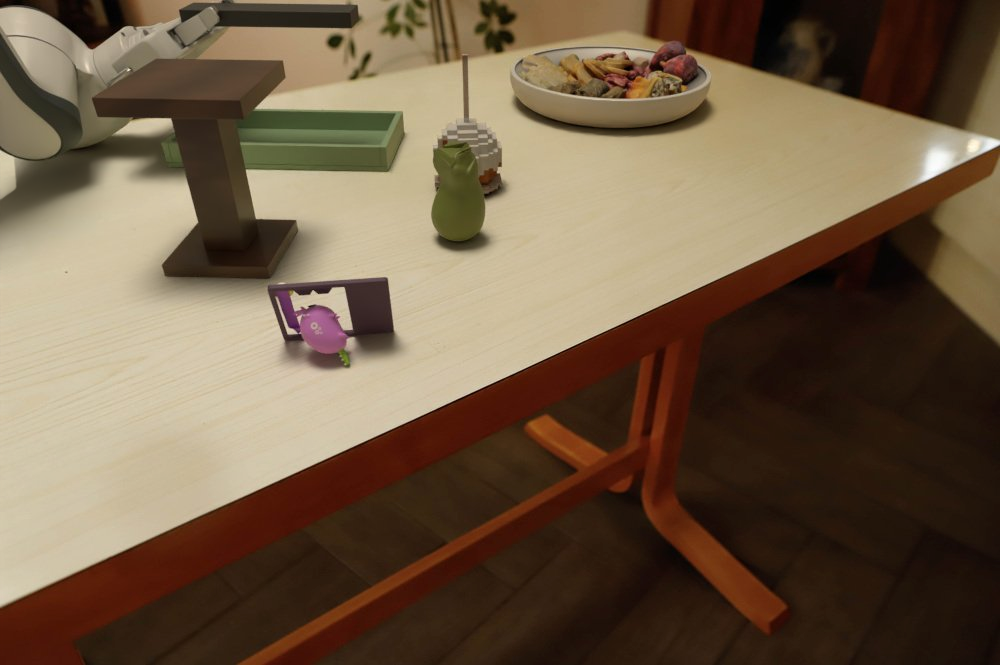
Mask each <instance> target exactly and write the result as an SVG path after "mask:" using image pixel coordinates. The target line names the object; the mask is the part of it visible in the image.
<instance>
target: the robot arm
mask: <svg viewBox="0 0 1000 665" xmlns="http://www.w3.org/2000/svg"><path fill="white" fill-rule="evenodd" d="M208 3H217V1H215V0H213V1H208ZM218 3H237V1H236V0H221V1H220V2H218ZM221 20H222V15H221V14H220V13H219V12H218V9H217V8H216V7H215V6H210V7H208V8H206V9H205V10H203V11H202V12H200V13H199V14H198V15H196V16H194V17H192V18H190V19H189V20H187V21H185V22H183V23H182V22H181V18H180V16H179V17H177V18H175V19H172V20H170V21H168V22H165V23H163V22H161V21H160V22H158V23H154V24H151V25H146V26H131V25H127V26H123V27H122V28H121V29H120V30H118V31H117V32H115V33H114V34H113V35H111V36H110V37H109V38H107V39H106V40H104V41H103V42H102V43H100V44H99V45H97V46H96V47H94V48H93V49H91V48H90V47H89V46H88V45H87V43H86V42H85V41H84V40H83V39H82V38H81V37H79V36H78V35H77V34H76V33H75V32H74V31H72V30H71V29H70V28H69V27H68V26H66V25H65V24H63V23H62V22H61V21H60V20H58V19H57V18H55V17H54V16H53V15H51V14H49V13H47V12H45V11H43V10H41V9H39V8H36V7H32V6H28V5H21V4H20V5H17V4H14V5H13V4H12V5H4V6H1V7H0V152H3V153H4V154H7V155H9V156H10V157H13V158H16V159H19V160H23V161H29V162H44V161H49V160H53V159H55V158H58V157H60V156H62V155H64V154H65V153H67V152H69V151H71V150H77V149H83V148H87V147H91V146H93V145H95V144H98V143H100V142H102V141H103V140H105V139H107V138H109V137H111V136H113V135H114V134H116V133H117V132H119V131H120V130H122V129H123V128H125V127H127V126H128V125H129V124H130V123H131V121H132V120H133V118H112V117H97V114H96V111H95V107H94V104H93V101H92V97H94V96H95V95H97V94H98V93H100V92H102V91H103V90H105V89H107V88H108V87H110V86H112V85H113V84H115V83H117V82H118V81H120V80H122V79H123V78H125V77H127V76H128V75H130V74H132V73H133V72H135V71H136V70H138V69H140V68H141V67H143V66H145V65H146V64H148V63H150V62H151V61H153V60H155V59H199V57H200V56H201V55H202V54H203V53H204V52H206V51H207V50H208V49H209V48H210V47H211V46H212V45H214V44H215V43H216V42H217V41H218V40H219V39H220V38H221V37H222V36H223V35H225V33H227V32H228V30H229V29H230V28H231V27H214V25H215V24H217V23H218V22H220V21H221Z"/></svg>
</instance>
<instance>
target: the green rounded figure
mask: <svg viewBox="0 0 1000 665" xmlns="http://www.w3.org/2000/svg"><path fill="white" fill-rule="evenodd" d="M471 151H472V150H471V147H470V146H469V144H468V143H467V142H465V143H459V142H455V141H452V142H449V143H448V144H446V145H444V146H443V147H441V148H438V149H436V150H434V156H432V164H433V168H434V170H435V171H436V173H437V175H439V177H440V185H439V187H437V188H438V189H437V191H436V193H435V196H434V197H433V198H434V199H433V201H432V205H431V211H430V212H431V213H430V216H431V222H432V225H433V227H434V229H435V231H436V232H437V234H438V235H440V236H441V237H442V238H444V239H445V240H447V241H452V242H465V241H469V240H470V239H473V237H475V236H476V235H477V234H478V233H479V232H480V231H481V229H482V228H483V226H484V223H485V217H486V200H485V194H484V193H483V189H482V186H481V184H480V182H479V178H478V173H479V167H478V162H477V160H476V157H475V155H474V154H473V153H472V152H471Z"/></svg>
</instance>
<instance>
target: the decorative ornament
mask: <svg viewBox="0 0 1000 665" xmlns="http://www.w3.org/2000/svg"><path fill="white" fill-rule="evenodd" d="M461 57H462V58H461V60H462V61H461V62H462V64H461V65H462V93H463V94H462V96H463V97H462V98H463V99H462V100H463V101H462V102H463V118H456V119H455V123H446V126H445V127H446V128H441V135H440V134H439V135H436V136H437V137H436V138H437V144H432V154H433V156H434V150H436V149H438V148H441V147H443V146H444V145H446V144H448V143H449V142H452V141H455V142H459V143H465V142H467V143H468V144H469V146H470V147H471V150H472V151H471V152H472V153H473V154H474V155H475V157H476V160H477V162H478V167H479V173H478V178H479V182H480V184H481V186H482V189H483V193H484V195H486V194H490V192H494V190H498V189H499V186H502V185H503V182H502V179H503V178H502V175H501V172H499V168H502V167H503V146H502V144H501V141H499V140H498V138H497V133H496V131H492V128H491V127H487V122H477V118H476V117H475V118H474V117H473V118H470V98H469V97H470V96H469V54H468V53H462V54H461ZM433 156H432V157H433ZM439 185H440V177H439V175H438V174H434V187H435V188H439Z"/></svg>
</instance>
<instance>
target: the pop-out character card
mask: <svg viewBox="0 0 1000 665" xmlns="http://www.w3.org/2000/svg"><path fill="white" fill-rule="evenodd" d="M335 288H344V291H345V297H346V302H347V306H348V311H349V317H350V322H351V326H352V329H344V328H343V327H342V325H341V323H340V322H339V319H340V318H341V316H340V315H338V313H337V312H335V311H334V310H333V309H332V308H330V307H328V306H325V305H322V304H317V303H316V304H310V305H307V308H306V307H304V306H300V307H299V308H300V309H299V310H295V308H294V305H293V301H292V298H291V297H292V296H293V294H294V293H296V294H297V295H298V296H311V294H312V293H313V292H315V293H316V294H317V295H326V294H327V295H328V294H330V292H331V291H332V289H335ZM267 294H268V296H269V300H270V302H271V305H272V309H273V311H274V314H275V316H276V317H275V318H276V320H277V323H278V326H279V329H280V333H281V335H282V338H283V340H284V341H293V340H303V341H304V342H305V343H306V345H308V346H309V347H310V348H311V349H313V350H314V351H316V352H318V353H322V354H327V355H329V354H330V355H331V354H335V353H337V354H338V355H339V358H341V359H340V361H342V362H344V364H343V366H349V365H350V364H351V362H350V358H349V356H348V355H347V352H346V351H345V348H346V346H347V343H348V342H347V340H348V339H350V336H360V335H361V336H362V335H372V334H373V335H374V334H386V333H387V334H388V333H393V332H395V328H394V319H393V318H394V317H393V309H392V301H391V294H390V284H389V278H388V277H387V276H381V277H380V276H379V277H366V278H352V279H335V280H322V281H321V280H320V281H307V282H293V283H286V282H278V283H277V284H269V285H267ZM278 302H279V303H278ZM280 309H281V310H280ZM281 312H282V313H281ZM282 315H283V316H282ZM300 316H301V317H300ZM298 317H300V321H299V319H298ZM283 318H284V319H285V321H284V319H283ZM285 322H286V325H287V327H286V325H285ZM287 328H288V329H292V330H294V332H296V333H292V334H289V333H288V331H287Z"/></svg>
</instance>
